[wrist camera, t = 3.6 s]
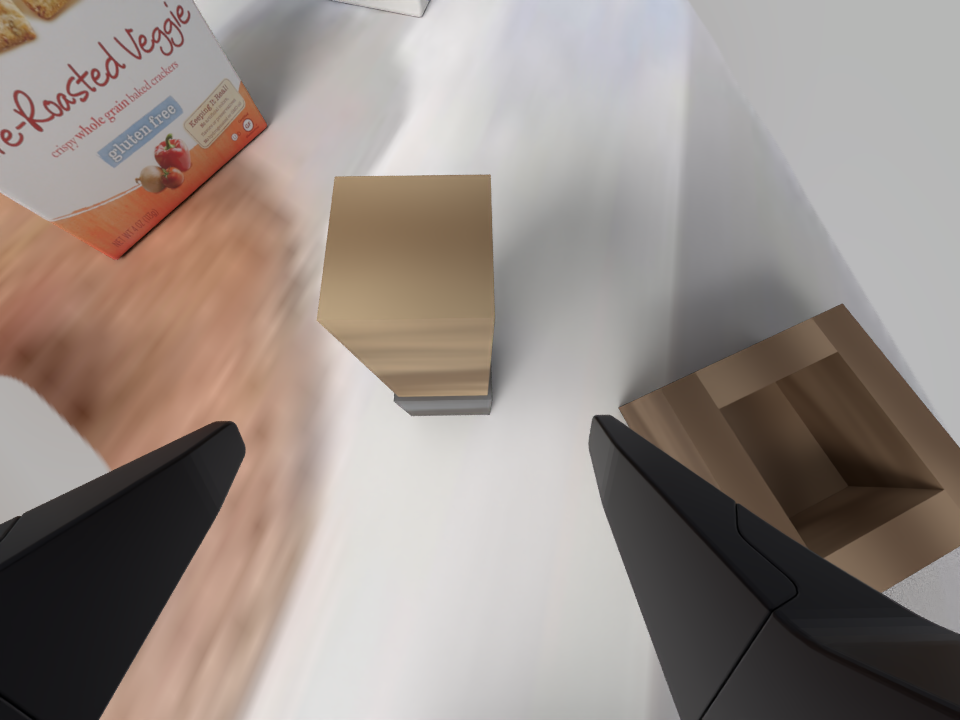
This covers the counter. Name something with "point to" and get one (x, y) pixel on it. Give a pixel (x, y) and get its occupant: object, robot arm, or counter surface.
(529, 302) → the counter surface
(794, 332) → the post slot block
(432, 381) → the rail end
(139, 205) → the cracker box
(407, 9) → the tall white carton
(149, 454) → the robot arm
